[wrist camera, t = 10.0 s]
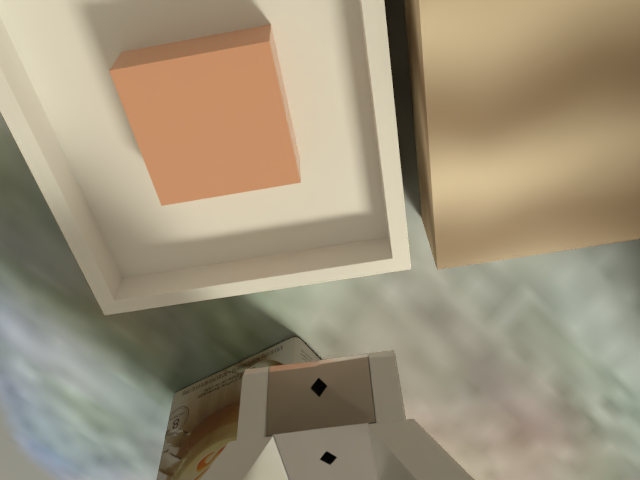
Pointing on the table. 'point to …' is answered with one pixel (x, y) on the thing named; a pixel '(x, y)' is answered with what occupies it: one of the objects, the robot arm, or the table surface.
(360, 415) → the robot arm
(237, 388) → the coffee box
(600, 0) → the block
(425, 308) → the table surface
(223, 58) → the tile
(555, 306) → the table surface
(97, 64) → the box
